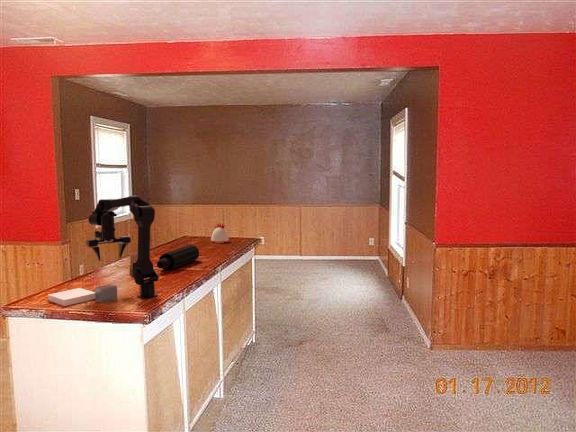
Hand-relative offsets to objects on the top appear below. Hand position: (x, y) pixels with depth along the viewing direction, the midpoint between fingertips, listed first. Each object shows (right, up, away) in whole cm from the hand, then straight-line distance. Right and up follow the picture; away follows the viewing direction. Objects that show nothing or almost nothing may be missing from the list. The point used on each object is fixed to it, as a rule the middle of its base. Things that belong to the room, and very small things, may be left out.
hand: (109, 259), depth 208 cm
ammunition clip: (0, -11, +35) cm, 37 cm away
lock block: (+5, -16, -17) cm, 24 cm away
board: (-10, -16, -16) cm, 24 cm away
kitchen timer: (+30, 0, +142) cm, 145 cm away
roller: (+19, -9, +52) cm, 56 cm away
